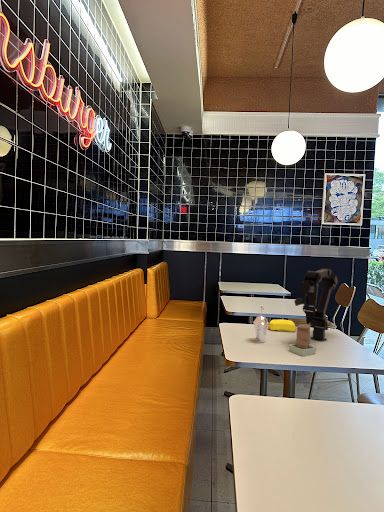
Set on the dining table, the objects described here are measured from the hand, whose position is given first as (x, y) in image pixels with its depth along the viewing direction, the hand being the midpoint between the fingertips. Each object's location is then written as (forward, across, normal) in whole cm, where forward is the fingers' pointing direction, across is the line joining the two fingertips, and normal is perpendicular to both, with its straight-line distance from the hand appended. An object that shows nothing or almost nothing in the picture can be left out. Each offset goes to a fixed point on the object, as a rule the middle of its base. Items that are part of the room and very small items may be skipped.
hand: (308, 323), depth 185 cm
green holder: (+13, +14, -1) cm, 20 cm away
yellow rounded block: (+10, -25, -16) cm, 31 cm away
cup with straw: (+14, +7, -24) cm, 28 cm away
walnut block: (+13, +14, -1) cm, 20 cm away
